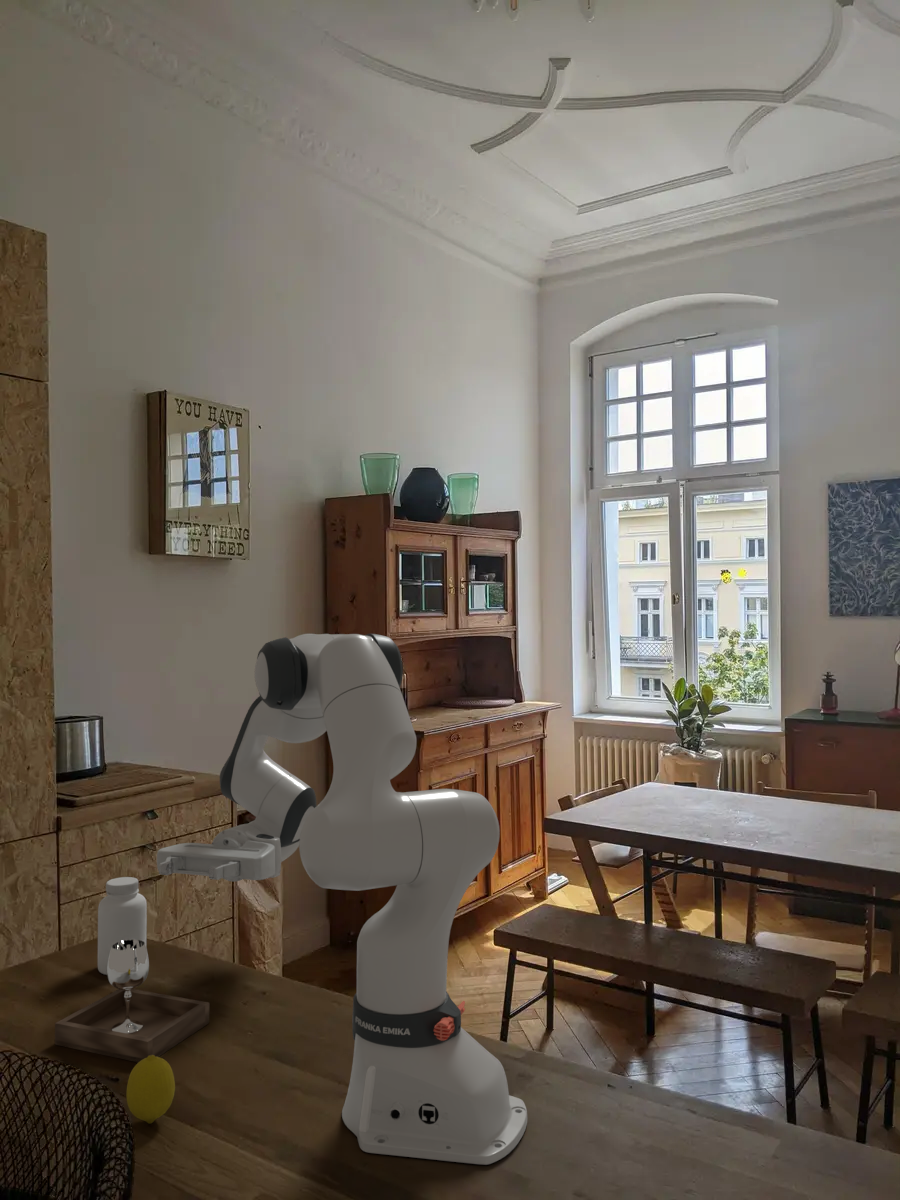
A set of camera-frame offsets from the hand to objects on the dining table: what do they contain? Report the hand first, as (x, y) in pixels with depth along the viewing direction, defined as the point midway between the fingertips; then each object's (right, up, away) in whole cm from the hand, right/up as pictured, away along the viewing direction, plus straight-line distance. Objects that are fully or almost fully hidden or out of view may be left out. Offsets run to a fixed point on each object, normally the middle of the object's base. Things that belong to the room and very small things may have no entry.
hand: (187, 872), depth 148 cm
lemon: (+5, -20, -36) cm, 41 cm away
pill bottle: (-15, -21, +14) cm, 29 cm away
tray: (-5, -20, -11) cm, 24 cm away
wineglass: (-6, -20, -11) cm, 23 cm away
